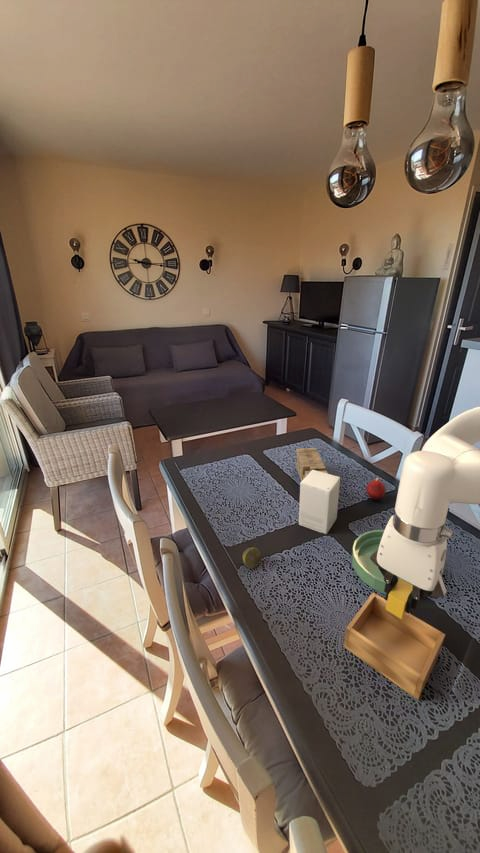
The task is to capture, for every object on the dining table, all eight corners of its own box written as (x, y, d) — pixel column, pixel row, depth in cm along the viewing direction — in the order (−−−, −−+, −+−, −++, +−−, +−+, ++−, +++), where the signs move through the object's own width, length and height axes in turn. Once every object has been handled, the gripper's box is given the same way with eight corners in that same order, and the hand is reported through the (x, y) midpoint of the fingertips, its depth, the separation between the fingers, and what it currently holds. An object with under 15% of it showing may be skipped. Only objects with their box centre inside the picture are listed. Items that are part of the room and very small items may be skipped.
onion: (383, 506, 115) (387, 484, 112) (364, 503, 117) (367, 482, 113) (383, 495, 120) (386, 475, 117) (365, 493, 122) (368, 472, 118)
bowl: (443, 565, 92) (447, 553, 90) (415, 615, 79) (418, 602, 78) (371, 531, 104) (373, 520, 102) (337, 569, 92) (338, 557, 90)
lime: (262, 560, 95) (262, 545, 93) (256, 573, 91) (256, 558, 89) (246, 555, 97) (246, 541, 95) (240, 568, 93) (239, 553, 91)
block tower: (335, 515, 113) (315, 465, 139) (337, 493, 109) (317, 446, 135) (310, 515, 113) (295, 465, 139) (311, 493, 109) (296, 446, 135)
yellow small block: (412, 602, 69) (415, 586, 67) (401, 619, 65) (405, 603, 64) (396, 593, 70) (399, 578, 69) (385, 609, 67) (388, 594, 66)
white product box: (337, 518, 110) (341, 476, 104) (326, 535, 103) (330, 491, 97) (309, 509, 115) (312, 468, 108) (297, 524, 108) (299, 482, 102)
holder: (439, 653, 71) (445, 634, 69) (418, 700, 64) (423, 681, 62) (369, 610, 81) (372, 591, 78) (343, 646, 73) (346, 627, 71)
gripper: (479, 534, 57) (453, 615, 65) (379, 494, 68) (367, 568, 75) (465, 560, 52) (440, 644, 60) (360, 512, 63) (349, 589, 70)
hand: (399, 601), depth 67 cm, fingers closed on yellow small block, 3 cm apart
